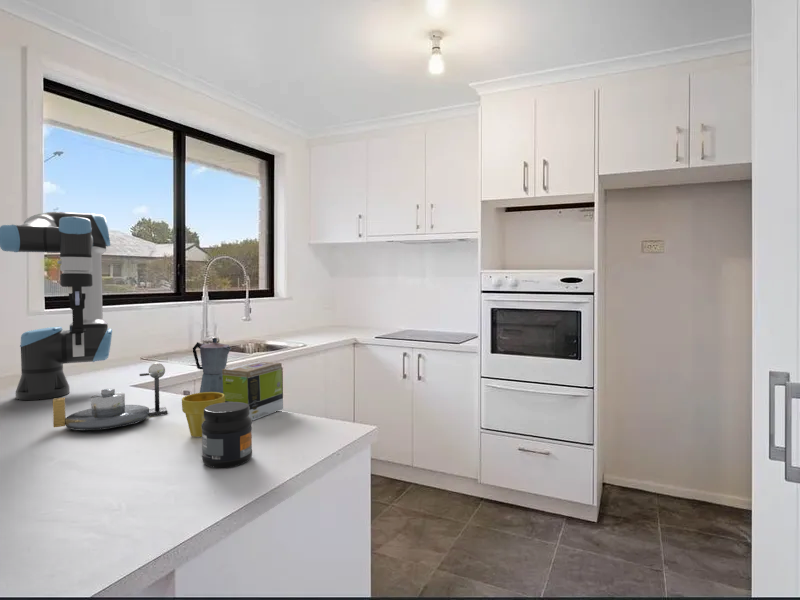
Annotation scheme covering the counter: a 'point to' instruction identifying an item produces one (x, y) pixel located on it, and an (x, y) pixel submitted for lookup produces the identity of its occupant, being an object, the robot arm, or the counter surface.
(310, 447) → the counter surface
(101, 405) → the cover
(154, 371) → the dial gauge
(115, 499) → the counter surface
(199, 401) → the plant pot
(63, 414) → the turntable
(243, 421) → the supplement container
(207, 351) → the moka pot
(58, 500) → the counter surface
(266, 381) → the tea box
